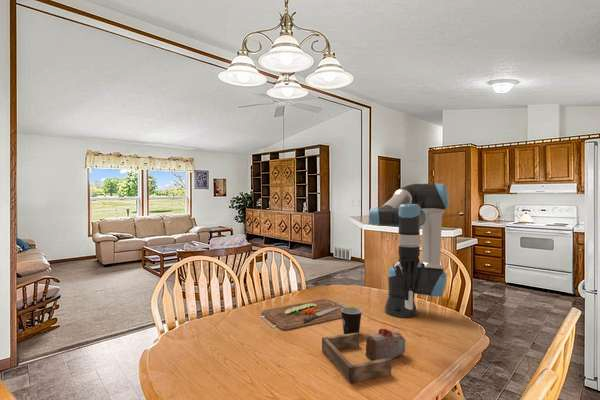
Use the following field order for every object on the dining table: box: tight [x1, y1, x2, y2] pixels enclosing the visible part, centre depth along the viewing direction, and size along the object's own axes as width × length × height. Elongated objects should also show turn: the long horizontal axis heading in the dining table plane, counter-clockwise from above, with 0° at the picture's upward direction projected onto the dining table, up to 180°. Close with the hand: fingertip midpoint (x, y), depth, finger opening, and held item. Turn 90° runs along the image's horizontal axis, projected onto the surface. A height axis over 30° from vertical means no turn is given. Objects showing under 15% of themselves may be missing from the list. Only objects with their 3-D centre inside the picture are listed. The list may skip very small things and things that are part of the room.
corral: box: [321, 332, 392, 384], centre depth 120 cm, size 15×23×5 cm, turn 19°
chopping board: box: [259, 298, 348, 332], centre depth 167 cm, size 45×27×3 cm, turn 118°
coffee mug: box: [341, 306, 363, 335], centre depth 145 cm, size 12×9×10 cm
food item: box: [365, 328, 407, 361], centre depth 124 cm, size 14×8×10 cm, turn 117°
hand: (408, 308), depth 126 cm, fingers closed
